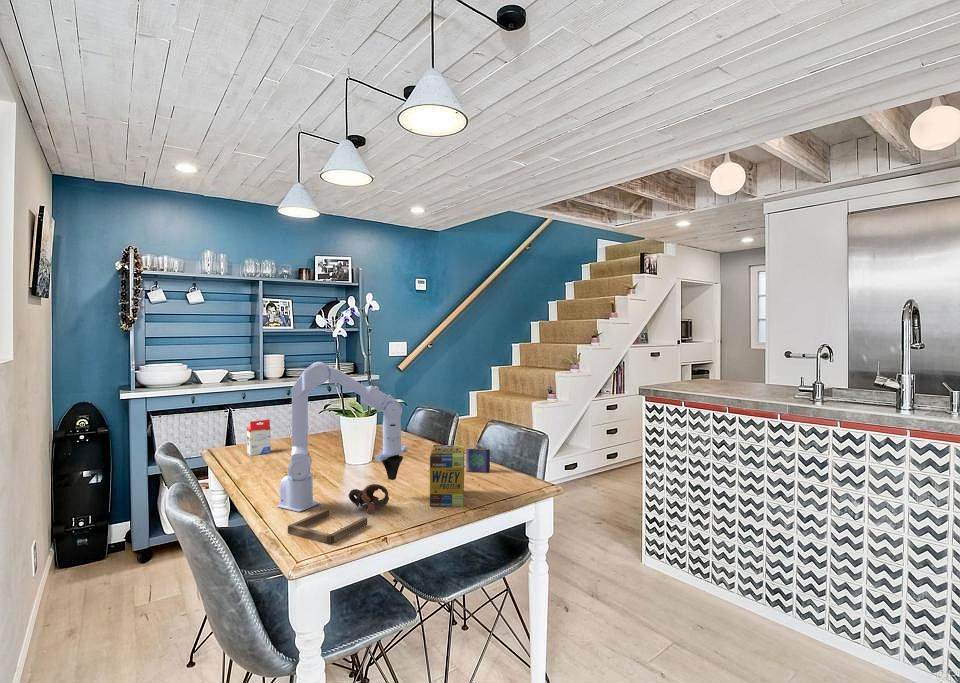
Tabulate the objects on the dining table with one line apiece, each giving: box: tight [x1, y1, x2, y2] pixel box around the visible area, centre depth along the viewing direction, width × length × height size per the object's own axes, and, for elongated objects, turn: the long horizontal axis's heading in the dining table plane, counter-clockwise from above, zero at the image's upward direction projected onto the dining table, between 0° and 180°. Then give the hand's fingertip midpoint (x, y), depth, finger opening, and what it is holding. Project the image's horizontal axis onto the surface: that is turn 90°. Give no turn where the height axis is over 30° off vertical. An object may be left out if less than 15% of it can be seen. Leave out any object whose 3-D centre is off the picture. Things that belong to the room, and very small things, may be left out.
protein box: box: [429, 444, 465, 507], centre depth 158 cm, size 10×15×16 cm
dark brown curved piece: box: [348, 483, 390, 515], centre depth 148 cm, size 12×10×8 cm
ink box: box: [246, 419, 272, 457], centre depth 213 cm, size 8×5×15 cm, turn 130°
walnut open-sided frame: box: [287, 508, 368, 545], centre depth 133 cm, size 15×14×2 cm
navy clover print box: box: [465, 442, 491, 474], centre depth 188 cm, size 9×3×11 cm, turn 79°
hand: (392, 479), depth 158 cm, fingers closed
